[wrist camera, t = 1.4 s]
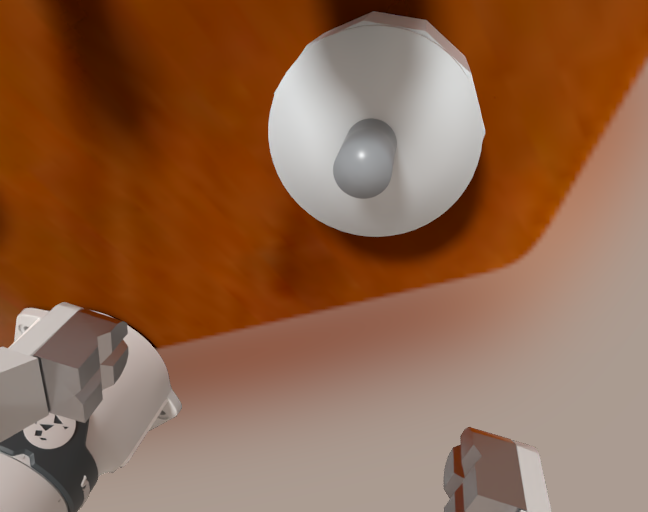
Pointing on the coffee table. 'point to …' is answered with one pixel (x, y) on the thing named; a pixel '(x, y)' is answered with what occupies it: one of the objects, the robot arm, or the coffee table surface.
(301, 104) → the cap
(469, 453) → the robot arm
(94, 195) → the coffee table surface
